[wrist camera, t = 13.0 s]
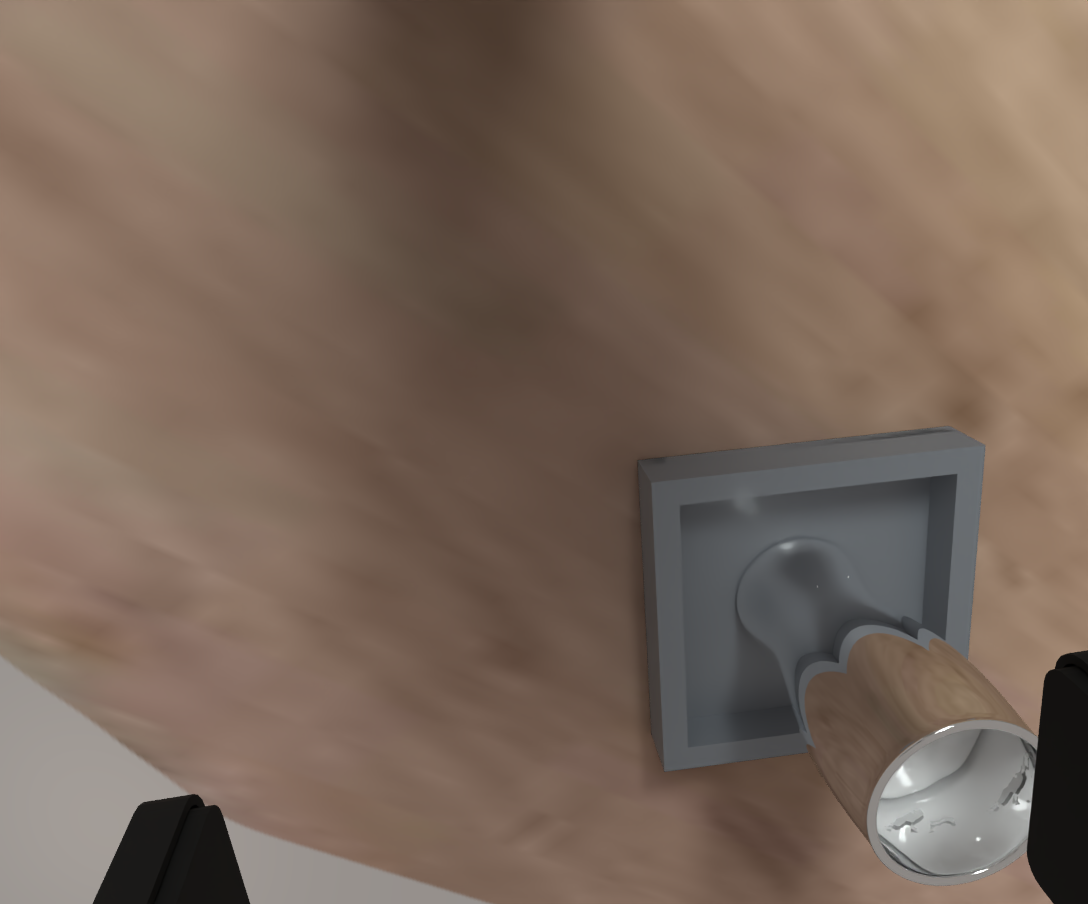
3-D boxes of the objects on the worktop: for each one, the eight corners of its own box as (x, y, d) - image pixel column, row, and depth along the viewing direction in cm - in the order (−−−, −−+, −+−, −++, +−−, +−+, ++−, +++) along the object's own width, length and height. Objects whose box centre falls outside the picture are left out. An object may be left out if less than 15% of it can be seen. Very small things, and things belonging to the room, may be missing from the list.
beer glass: (883, 620, 44) (1087, 838, 30) (755, 678, 44) (897, 922, 30) (839, 504, 42) (1037, 680, 28) (705, 566, 42) (832, 773, 28)
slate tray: (637, 460, 41) (651, 482, 38) (949, 426, 42) (985, 445, 39) (651, 733, 46) (664, 771, 43) (930, 697, 47) (961, 731, 44)
